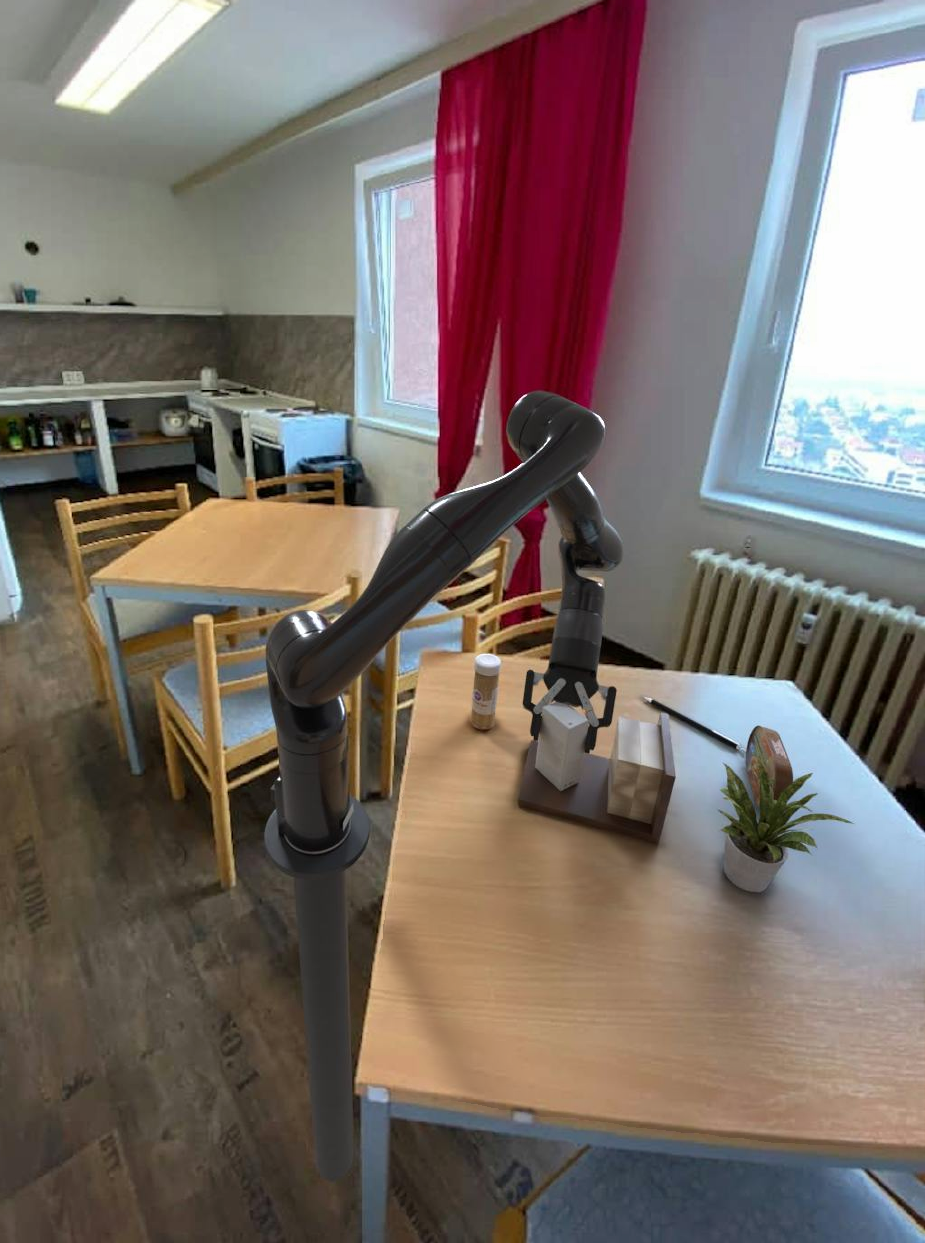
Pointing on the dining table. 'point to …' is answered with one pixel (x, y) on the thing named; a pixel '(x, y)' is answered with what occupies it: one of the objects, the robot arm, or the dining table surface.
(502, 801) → the dining table surface
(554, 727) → the cosmetic box
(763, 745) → the tin
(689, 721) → the pen
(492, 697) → the sprinkles bottle
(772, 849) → the house plant
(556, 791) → the book rack
